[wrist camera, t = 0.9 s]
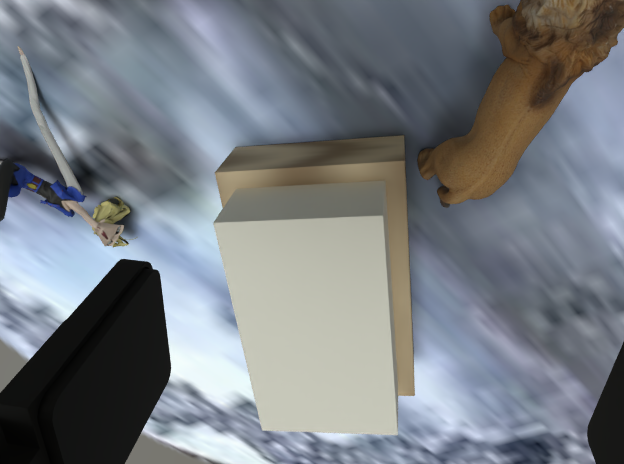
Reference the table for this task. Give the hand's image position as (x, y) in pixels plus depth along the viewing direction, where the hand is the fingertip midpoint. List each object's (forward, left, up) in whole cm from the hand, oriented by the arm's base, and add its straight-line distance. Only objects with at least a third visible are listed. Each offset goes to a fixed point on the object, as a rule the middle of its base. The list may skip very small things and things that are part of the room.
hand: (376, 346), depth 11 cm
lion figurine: (-5, -1, -21) cm, 22 cm away
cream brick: (+5, +10, -17) cm, 20 cm away
